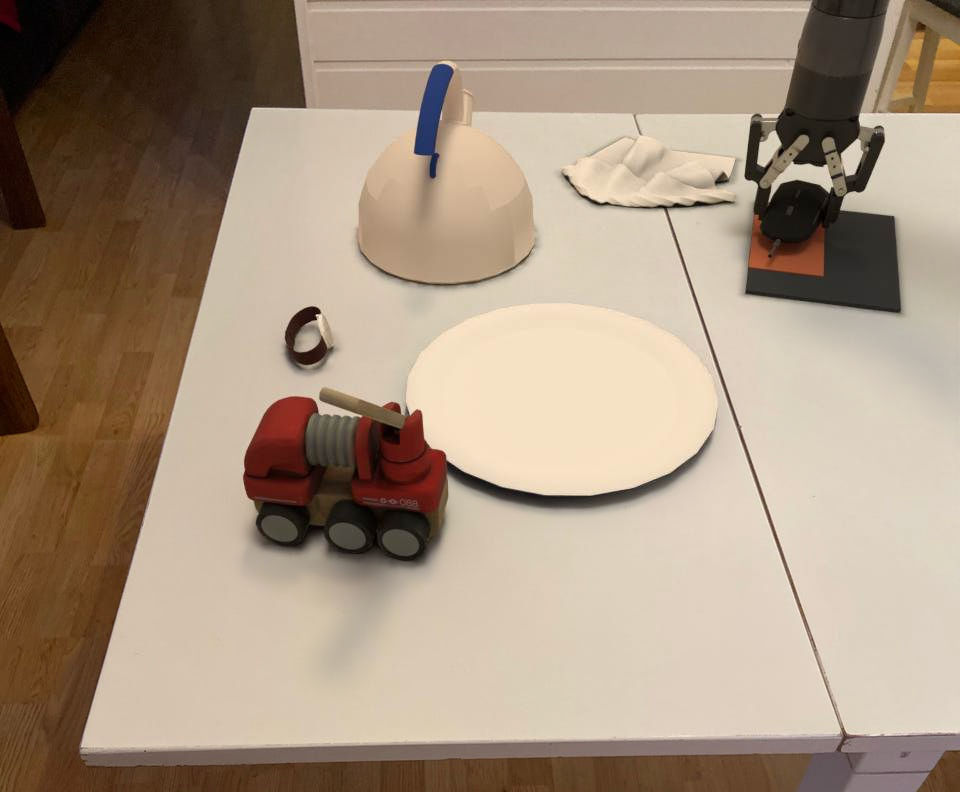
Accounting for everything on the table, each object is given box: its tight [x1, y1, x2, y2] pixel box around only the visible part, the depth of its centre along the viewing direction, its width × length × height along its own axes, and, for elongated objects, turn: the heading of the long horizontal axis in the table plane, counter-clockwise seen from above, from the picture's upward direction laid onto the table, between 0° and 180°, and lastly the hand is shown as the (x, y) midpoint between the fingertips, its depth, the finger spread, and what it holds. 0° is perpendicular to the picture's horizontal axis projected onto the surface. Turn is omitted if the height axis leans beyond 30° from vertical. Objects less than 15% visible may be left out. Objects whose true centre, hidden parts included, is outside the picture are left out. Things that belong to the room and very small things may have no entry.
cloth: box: [560, 134, 736, 208], centre depth 118 cm, size 20×22×2 cm
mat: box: [744, 201, 902, 314], centre depth 108 cm, size 16×20×1 cm
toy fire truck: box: [242, 386, 449, 561], centre depth 73 cm, size 11×16×18 cm
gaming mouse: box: [760, 179, 830, 258], centre depth 107 cm, size 6×15×4 cm, turn 152°
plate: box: [405, 302, 720, 498], centre depth 90 cm, size 29×29×2 cm
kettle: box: [357, 60, 536, 285], centre depth 103 cm, size 20×21×18 cm
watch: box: [284, 305, 335, 366], centre depth 95 cm, size 8×5×4 cm, turn 7°
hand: (793, 220), depth 108 cm, fingers closed on gaming mouse, 6 cm apart
